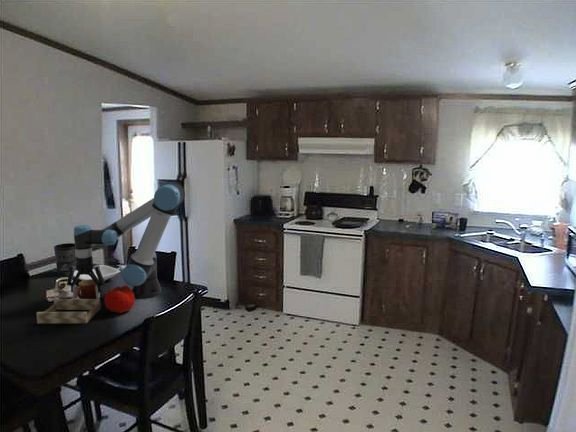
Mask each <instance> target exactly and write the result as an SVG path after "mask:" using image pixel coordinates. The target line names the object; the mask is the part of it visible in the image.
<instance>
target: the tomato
mask: <svg viewBox="0 0 576 432" xmlns="http://www.w3.org/2000/svg"><path fill="white" fill-rule="evenodd" d="M135 300H136V297H134V293H133V291H132V288H130V287H129V286H128V285H123V286H117V287H114V288H112V289H111V290H108V291H107V293H106V294H105V296H104V301H103V302H104V305H105V307H106V309H107V310H108V311H110V312H111V313H112V312H113V313H118V314H121V313H125V312H129V311H130V310H131V309H132V308H133V307H134V305H135V302H136V301H135Z"/></svg>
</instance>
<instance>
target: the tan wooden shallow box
mask: <svg viewBox="0 0 576 432" xmlns="http://www.w3.org/2000/svg"><path fill="white" fill-rule="evenodd" d="M101 309H102V308H101V299H100V298H99V299H80V298H76V299H74V298H54V299H53V304H52V305H50V306H49V307H48V308H47V309H46V310H44V311H37V312H36V313H35V314H36V322H37V323H36V324H87V323H88V322H90V320H91V319H92V318H93V317H94V316H95V315H96V314H97V313H99V311H100V310H101ZM58 310H59V311H58ZM64 310H65V311H64ZM68 310H70V311H68ZM71 310H72V311H71ZM74 310H75V311H74ZM76 310H77V311H76ZM80 310H82V311H80ZM86 310H88V311H86Z"/></svg>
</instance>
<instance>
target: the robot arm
mask: <svg viewBox="0 0 576 432" xmlns="http://www.w3.org/2000/svg"><path fill="white" fill-rule="evenodd" d="M185 196H186V191H185V189H184V188H183V186H182V185H181V184H179V183H176V182H170V183H167V184H162V185H161V186H159V187H158V188H157V189H156V190H155V193H154V195H153V198H151V199H149V200H148V201H146V202H144V203H143V204H141V205H140V206H138V207H137V208H135V209H133V210H132V211H130V212H128V214H126V215H124V216H123V217H121V218H119V219H118V220H116V221H115V222H113V223H111V224H110V225H108V226H106V227H105V228H102V229H92V228H91V226H90V225H88V224H81V225H80V224H79V225H76V226H74V227H73V240H74V243H75V256H76V262H75V263H76V266H71V267H70V273H69V272H68V278H67V281H66V286H69V287H70V292H71V293H72V296H73V297H72V299H75V298H76V299H78V295H77V290H78V287H77V284H76V283H77V282H78V280H79V279H78V278H79V277H80V275H83V274H85V275H89V276H90V277H91V278H92V279H93V281H94V282H95V284H96V299H100V298H101V292H102V286H104V285H105V284H106V280H105V281H104V279H103V276H102V274H101V272H100V266H98V265H94V259H93V246H115V245H116V244H117V241H118V238H120V237H122V236H123V235H125V233H127V232H128V231H130V230H132V229H134V228H135V227H137V226H138V225H140V224H142V223H144V222H145V221H147V220H148V219H149V220H148V223H147V224H146V227H145V229H144V231H143V234H142V237H141V239H140V241H139V244H138V247H137V248H136V250H135V252H134V253H131V255H130V257H129V258H128V262H127V264H126V265H125V266H124V267H123V269H122V271H121V277H122V279H123V281H124V283H126V284H127V285H129V286H131V287H132V289H131V290H132V291H133V293H134V297H135V299H136V298H137V299H148V298H155V297H157V296H159V295H160V294H161V292H162V287H161V285H160V282H159V280H158V268H157V267H158V264H157V263H158V262H157V261H158V260H157V253H156V251H157V249H158V246H159V244H160V242H161V240H162V237H163V235H164V233H165V229H166V227H167V225H168V223H169V220H170V218H171V217H173V216H175V215H176V212H177V210H178V208H179V205H180V204H181V203H182V202H183V201H184V199H185ZM75 269H76V270H77V271H78V273H77V274H76V276H75V277H74V276H73V275H74V271H75ZM93 269H94V270H95V271H96V274H97V277H98V278H97V277H96V275H95V274H94V272H93ZM98 279H99V280H98Z"/></svg>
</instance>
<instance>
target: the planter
mask: <svg viewBox="0 0 576 432" xmlns="http://www.w3.org/2000/svg"><path fill="white" fill-rule="evenodd" d="M53 250H54V257H55V264H56V270H57V271H56V272H57V275H60V274H61V270H62V268H63V267H64V266H66V267H68V268H67V269H68V274H69V273H70V267H71V266H76V256H75V242H67V243H60V244H55V245H54V246H53ZM75 271H76V269H75Z"/></svg>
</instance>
